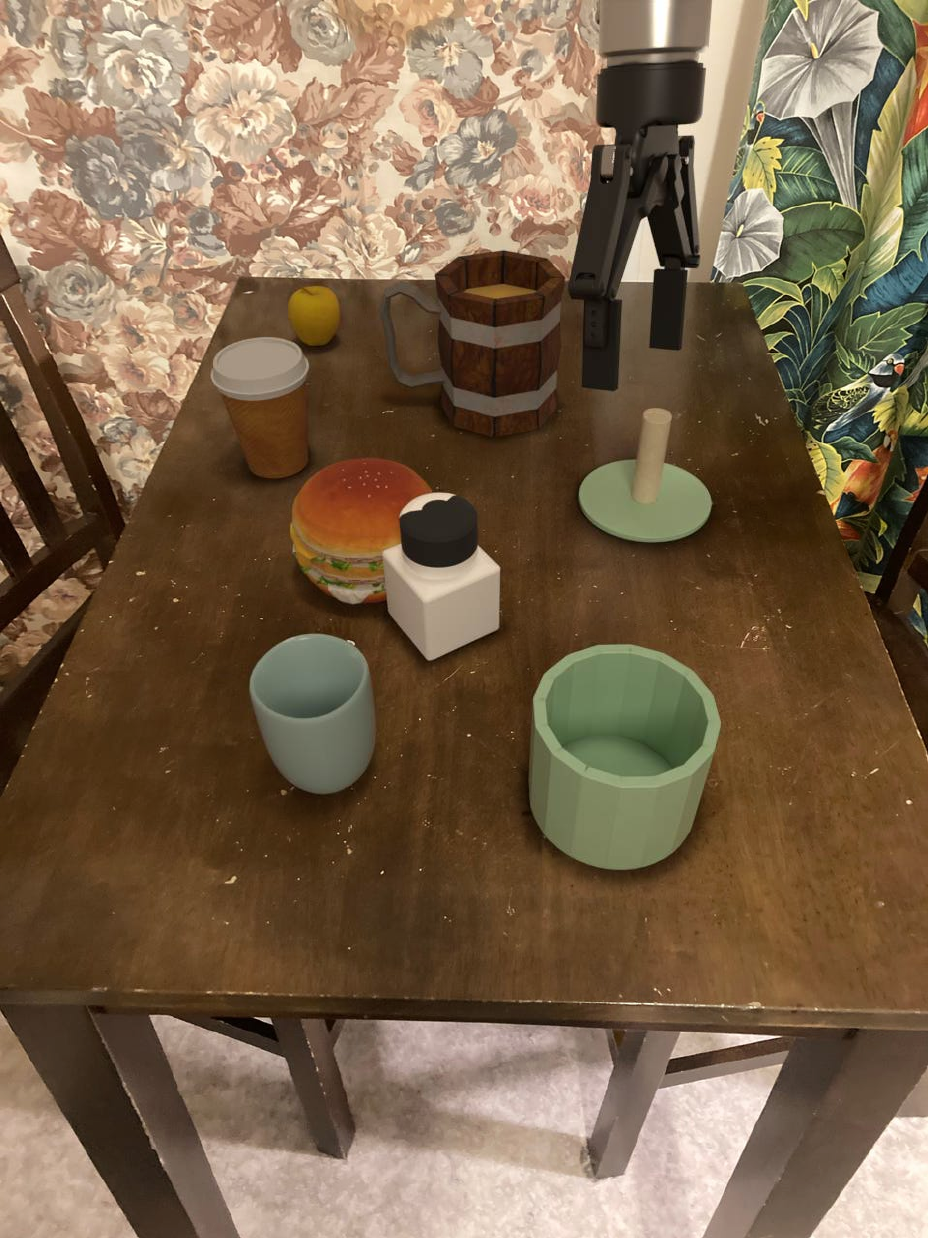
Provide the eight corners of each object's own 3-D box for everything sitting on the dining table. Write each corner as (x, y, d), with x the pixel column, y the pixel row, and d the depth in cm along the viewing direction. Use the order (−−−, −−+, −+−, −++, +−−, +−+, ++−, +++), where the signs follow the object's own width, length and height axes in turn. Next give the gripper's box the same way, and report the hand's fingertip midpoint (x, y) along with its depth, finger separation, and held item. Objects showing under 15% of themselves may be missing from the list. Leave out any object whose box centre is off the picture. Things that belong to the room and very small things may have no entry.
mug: (558, 377, 104) (566, 251, 93) (556, 439, 94) (564, 306, 84) (396, 372, 105) (386, 247, 95) (378, 433, 96) (364, 301, 85)
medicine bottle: (501, 630, 73) (503, 517, 65) (428, 663, 71) (421, 551, 62) (456, 582, 78) (453, 471, 69) (387, 612, 75) (374, 501, 67)
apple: (285, 352, 110) (274, 290, 104) (306, 329, 114) (297, 269, 108) (332, 358, 108) (323, 296, 103) (351, 335, 112) (344, 274, 107)
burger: (429, 624, 74) (423, 532, 67) (276, 610, 76) (255, 519, 69) (453, 527, 83) (450, 438, 76) (317, 516, 85) (302, 428, 78)
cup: (341, 828, 60) (321, 738, 53) (253, 783, 63) (223, 692, 56) (401, 748, 65) (390, 656, 58) (317, 710, 67) (297, 618, 60)
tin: (708, 758, 63) (734, 671, 57) (674, 894, 56) (699, 812, 49) (557, 713, 67) (565, 626, 60) (505, 836, 59) (507, 752, 52)
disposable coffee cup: (341, 459, 92) (327, 355, 84) (270, 499, 87) (246, 393, 79) (286, 427, 97) (267, 325, 89) (215, 463, 92) (188, 359, 84)
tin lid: (720, 483, 88) (740, 393, 81) (695, 560, 79) (715, 467, 72) (598, 458, 91) (607, 370, 84) (561, 529, 83) (568, 438, 76)
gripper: (666, 66, 71) (649, 331, 82) (517, 62, 53) (520, 401, 64) (757, 59, 68) (727, 338, 78) (630, 53, 50) (614, 414, 61)
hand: (634, 367), depth 71 cm, fingers open, 13 cm apart
